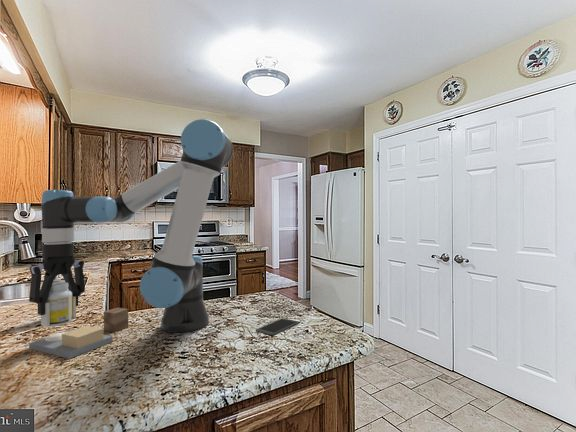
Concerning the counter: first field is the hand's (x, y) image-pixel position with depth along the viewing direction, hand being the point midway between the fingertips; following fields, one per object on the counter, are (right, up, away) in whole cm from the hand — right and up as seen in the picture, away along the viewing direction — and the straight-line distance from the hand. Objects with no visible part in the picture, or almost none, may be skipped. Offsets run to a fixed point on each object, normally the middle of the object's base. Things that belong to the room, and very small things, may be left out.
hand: (59, 321), depth 91 cm
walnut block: (+11, -6, +11) cm, 16 cm away
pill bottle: (0, -1, 0) cm, 1 cm away
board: (+5, -6, -2) cm, 8 cm away
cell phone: (+64, -5, +9) cm, 65 cm away
